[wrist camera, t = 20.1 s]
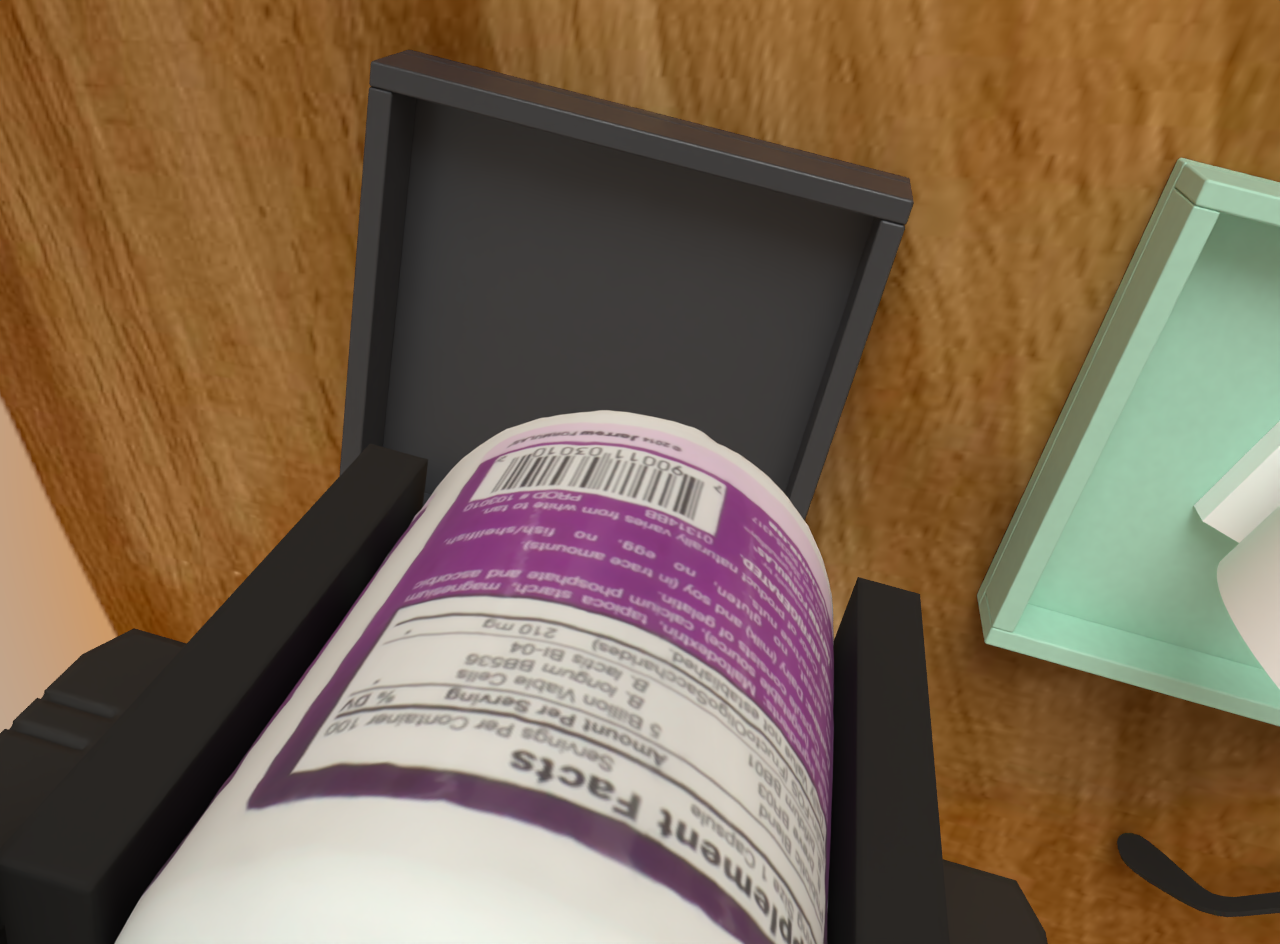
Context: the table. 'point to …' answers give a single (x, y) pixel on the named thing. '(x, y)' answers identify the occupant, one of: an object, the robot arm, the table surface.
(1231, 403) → the mint tray
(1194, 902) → the sunglasses
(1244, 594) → the headphone stand
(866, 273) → the charcoal tray
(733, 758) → the pill bottle
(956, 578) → the table surface
